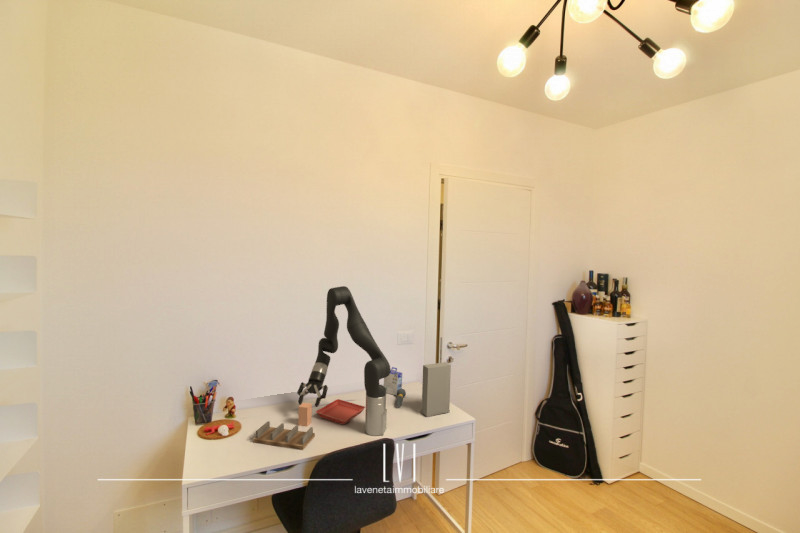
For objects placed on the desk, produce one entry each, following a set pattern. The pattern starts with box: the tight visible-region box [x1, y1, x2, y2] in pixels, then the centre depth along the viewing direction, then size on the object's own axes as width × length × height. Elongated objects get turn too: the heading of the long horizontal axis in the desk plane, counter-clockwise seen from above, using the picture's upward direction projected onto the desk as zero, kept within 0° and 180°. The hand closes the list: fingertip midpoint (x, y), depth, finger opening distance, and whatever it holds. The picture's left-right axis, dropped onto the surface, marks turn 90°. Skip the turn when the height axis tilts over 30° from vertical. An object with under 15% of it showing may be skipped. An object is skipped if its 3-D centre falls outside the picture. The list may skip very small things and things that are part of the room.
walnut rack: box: [252, 421, 316, 451], centre depth 152 cm, size 23×11×4 cm, turn 78°
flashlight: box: [395, 388, 407, 408], centre depth 195 cm, size 20×5×5 cm, turn 177°
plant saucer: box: [315, 398, 366, 425], centre depth 177 cm, size 18×18×3 cm
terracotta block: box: [297, 402, 313, 427], centre depth 166 cm, size 4×4×9 cm
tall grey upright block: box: [420, 361, 452, 418], centre depth 182 cm, size 14×6×25 cm, turn 115°
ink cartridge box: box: [383, 366, 403, 396], centre depth 206 cm, size 10×6×14 cm, turn 59°
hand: (307, 405), depth 169 cm, fingers open, 8 cm apart
